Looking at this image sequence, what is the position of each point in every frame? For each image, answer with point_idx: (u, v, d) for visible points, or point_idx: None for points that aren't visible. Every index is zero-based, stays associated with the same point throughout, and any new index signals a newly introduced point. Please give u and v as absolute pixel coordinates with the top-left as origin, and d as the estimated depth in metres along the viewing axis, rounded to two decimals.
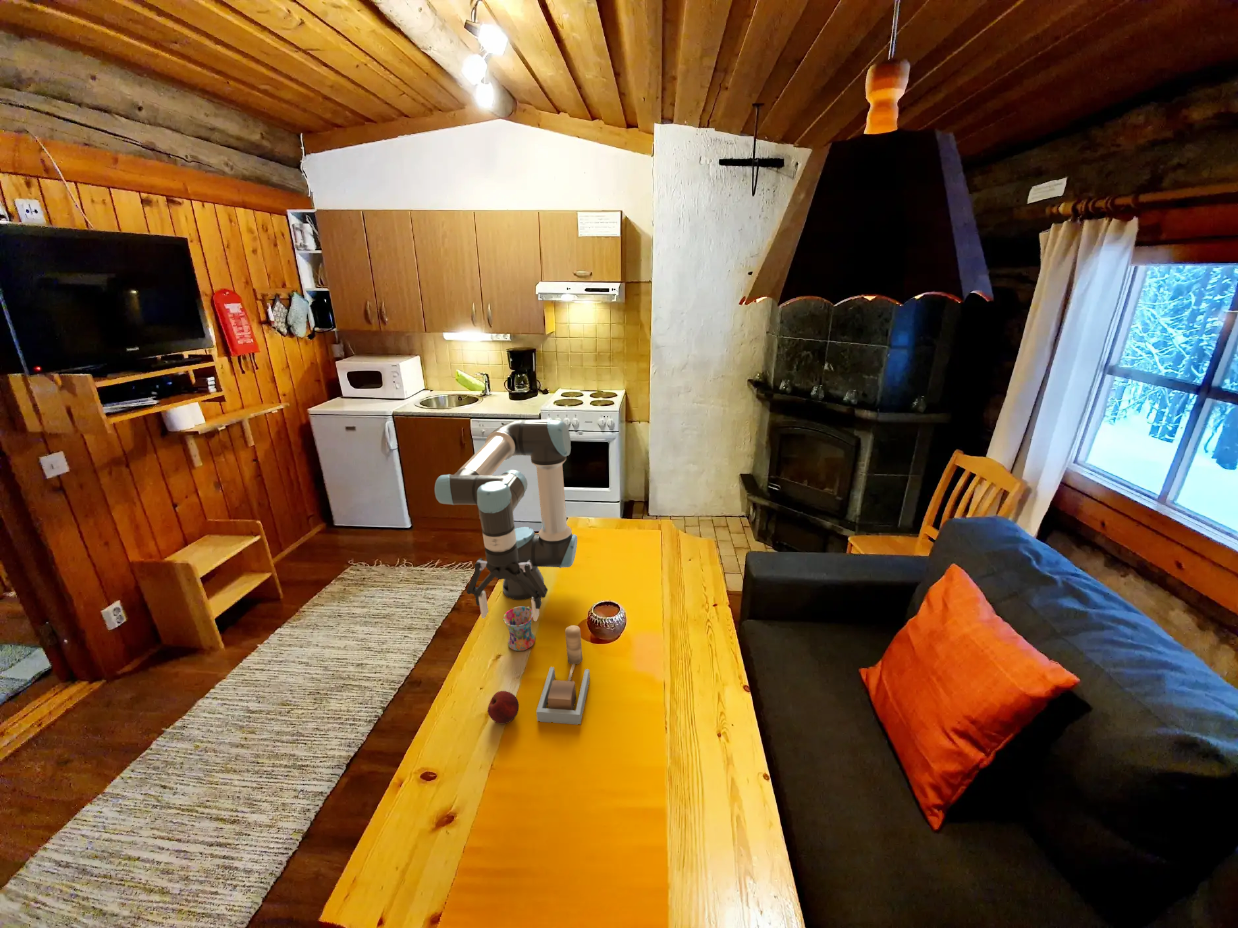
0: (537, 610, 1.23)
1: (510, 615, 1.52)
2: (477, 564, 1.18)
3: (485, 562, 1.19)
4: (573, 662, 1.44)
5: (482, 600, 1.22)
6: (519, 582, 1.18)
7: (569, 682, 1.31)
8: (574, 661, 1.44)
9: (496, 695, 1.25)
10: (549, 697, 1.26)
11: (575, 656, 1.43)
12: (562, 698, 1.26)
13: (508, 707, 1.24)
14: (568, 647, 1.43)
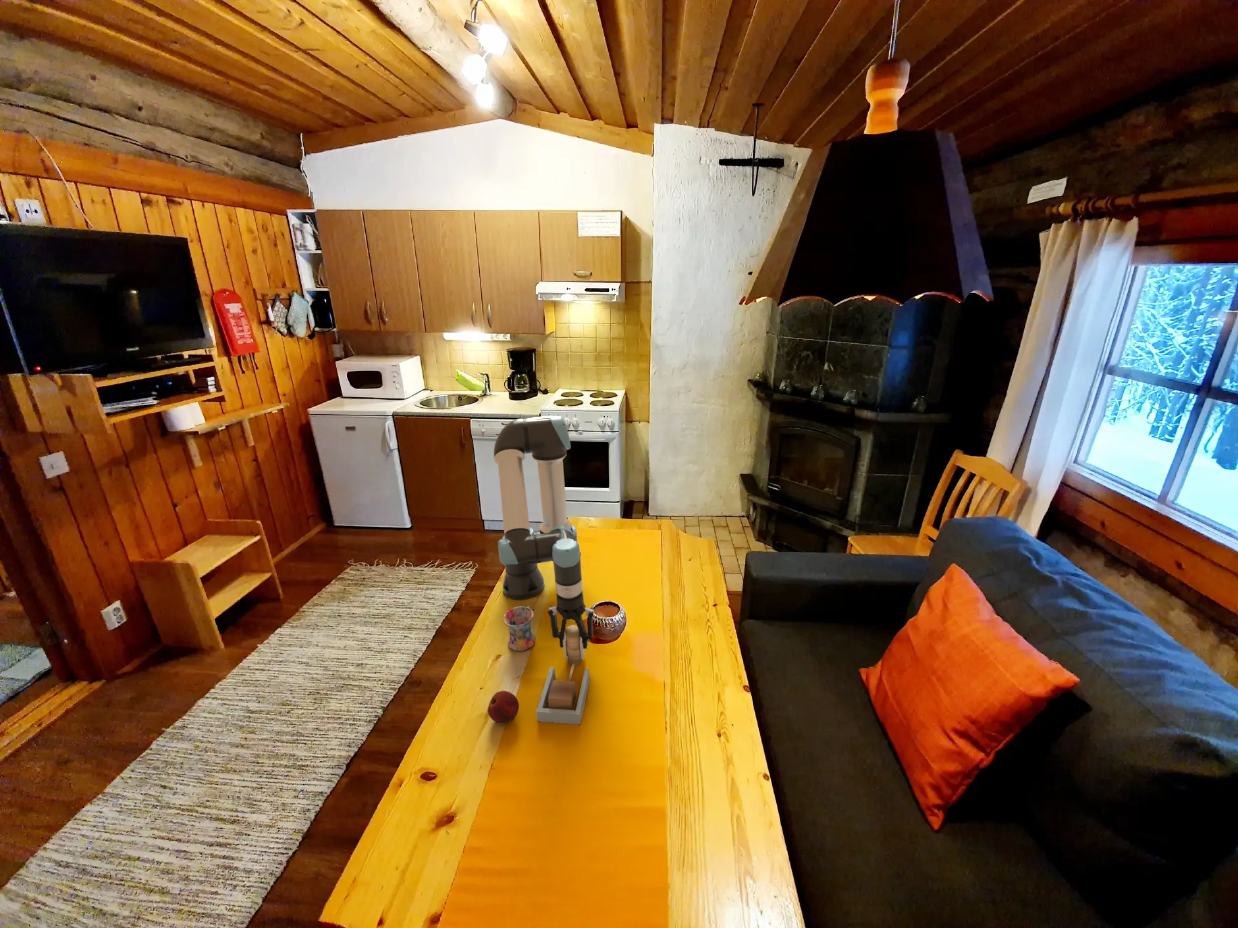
0: (584, 649, 1.45)
1: (510, 615, 1.52)
2: (549, 611, 1.39)
3: (555, 607, 1.40)
4: (573, 662, 1.44)
5: (565, 643, 1.43)
6: (578, 624, 1.40)
7: (569, 682, 1.31)
8: (574, 661, 1.44)
9: (496, 695, 1.25)
10: (549, 697, 1.26)
11: (575, 655, 1.43)
12: (562, 698, 1.26)
13: (508, 707, 1.24)
14: (568, 647, 1.43)
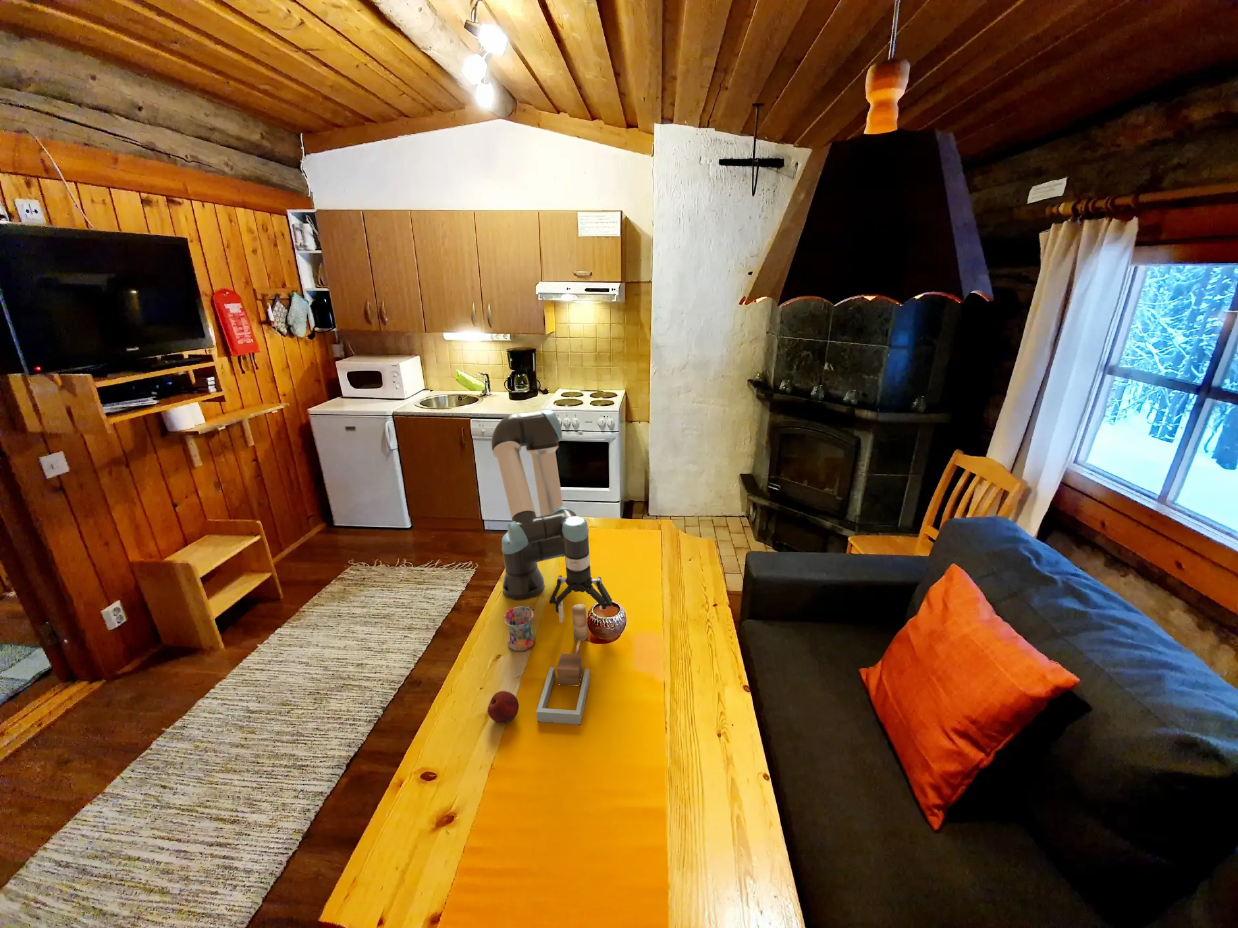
0: None
1: (510, 615, 1.52)
2: (559, 580, 1.51)
3: (564, 578, 1.51)
4: (579, 638, 1.53)
5: (561, 608, 1.55)
6: (591, 594, 1.51)
7: (576, 655, 1.40)
8: (580, 637, 1.53)
9: (496, 695, 1.25)
10: (558, 668, 1.36)
11: (581, 632, 1.53)
12: (570, 669, 1.35)
13: (508, 707, 1.24)
14: (574, 624, 1.52)
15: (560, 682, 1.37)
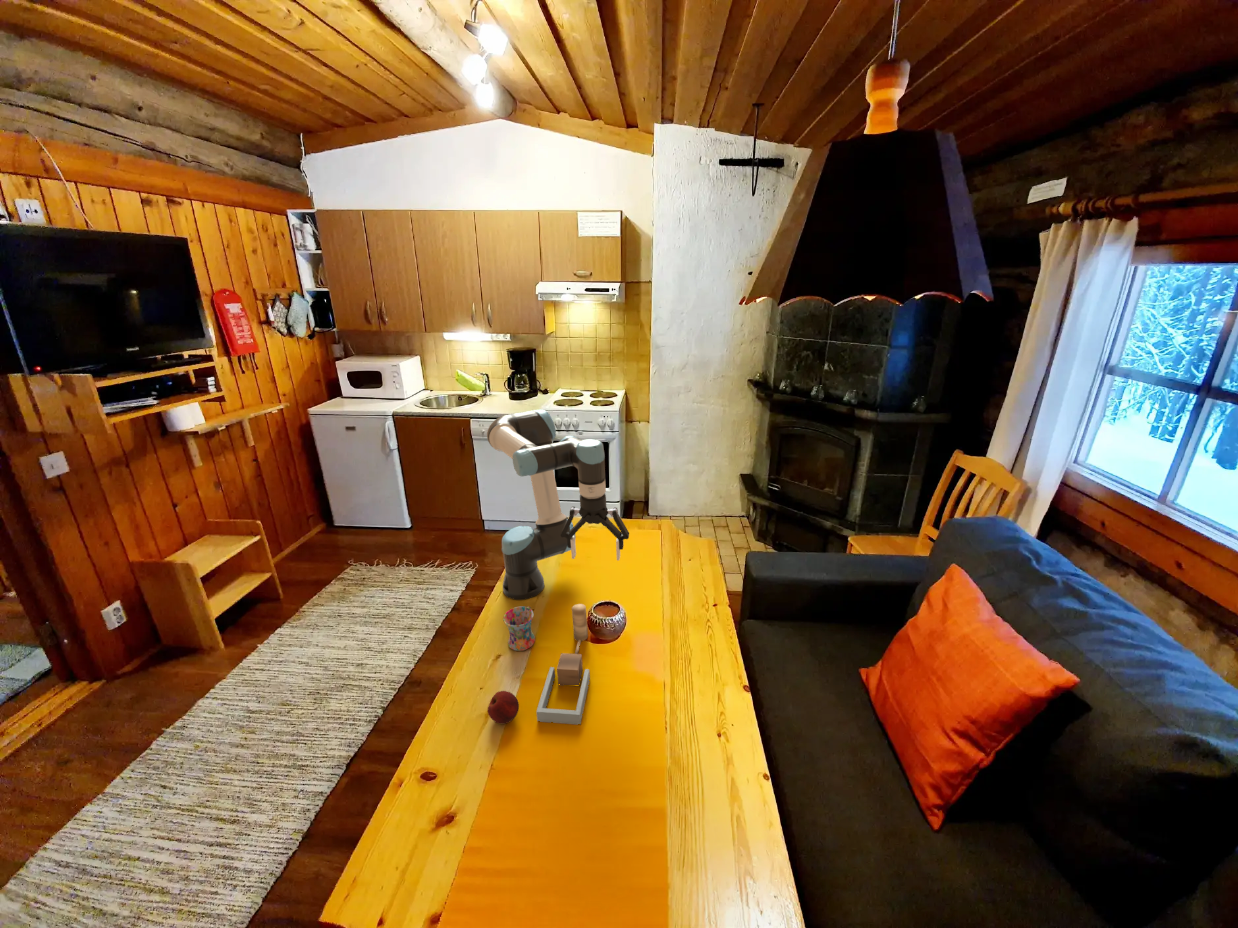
0: (619, 551, 1.45)
1: (510, 615, 1.52)
2: (572, 510, 1.40)
3: (578, 509, 1.41)
4: (579, 638, 1.53)
5: (573, 543, 1.44)
6: (607, 526, 1.40)
7: (576, 655, 1.40)
8: (580, 637, 1.53)
9: (496, 695, 1.25)
10: (558, 668, 1.36)
11: (581, 632, 1.53)
12: (570, 669, 1.35)
13: (508, 707, 1.24)
14: (574, 624, 1.52)
15: (560, 682, 1.37)
